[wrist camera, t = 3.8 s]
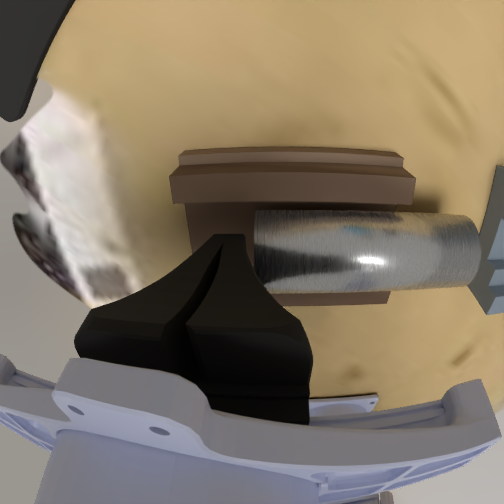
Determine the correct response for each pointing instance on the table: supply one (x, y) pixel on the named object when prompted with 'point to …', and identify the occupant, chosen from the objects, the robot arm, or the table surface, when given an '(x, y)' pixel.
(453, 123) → the table surface
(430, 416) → the robot arm
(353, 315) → the table surface
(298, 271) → the axle
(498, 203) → the v block
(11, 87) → the phone
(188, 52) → the table surface
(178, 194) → the brown channel tray
